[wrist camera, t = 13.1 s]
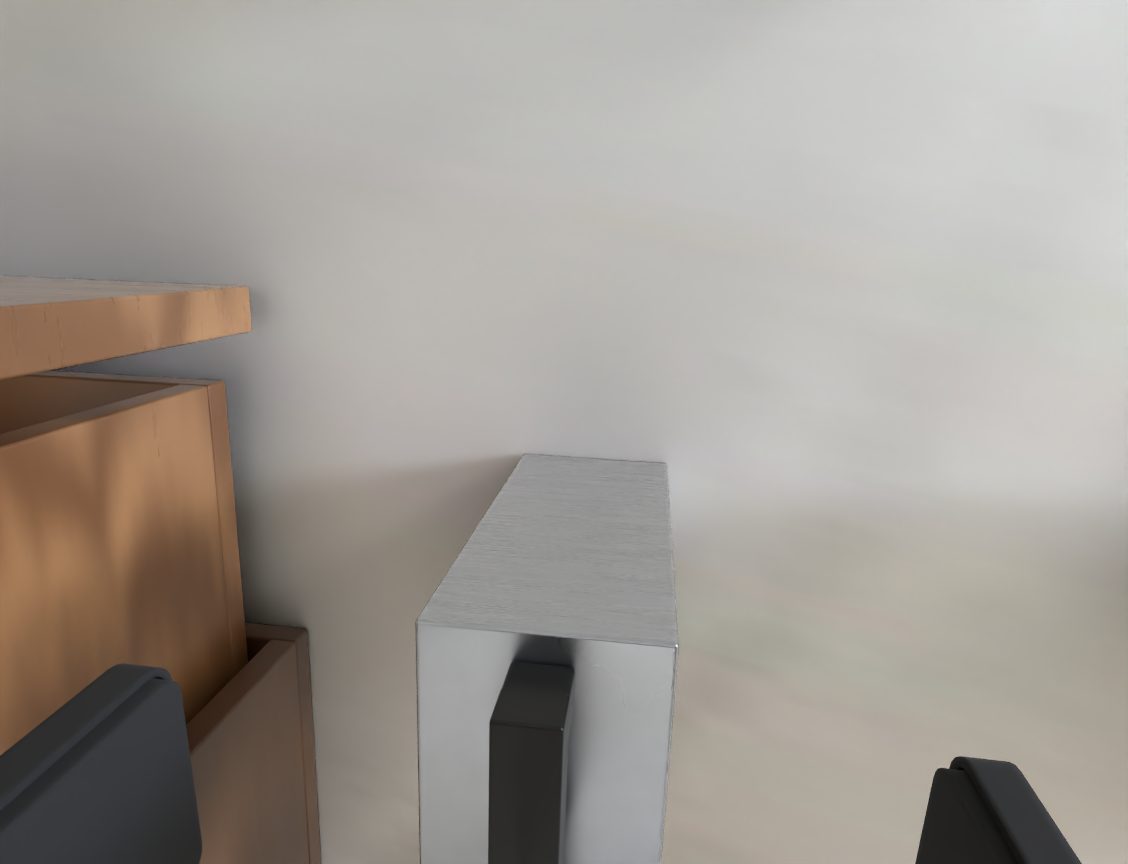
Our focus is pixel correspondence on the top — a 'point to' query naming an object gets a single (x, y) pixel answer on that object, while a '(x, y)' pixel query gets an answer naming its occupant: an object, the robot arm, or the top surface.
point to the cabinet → (259, 757)
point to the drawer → (113, 495)
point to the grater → (552, 673)
